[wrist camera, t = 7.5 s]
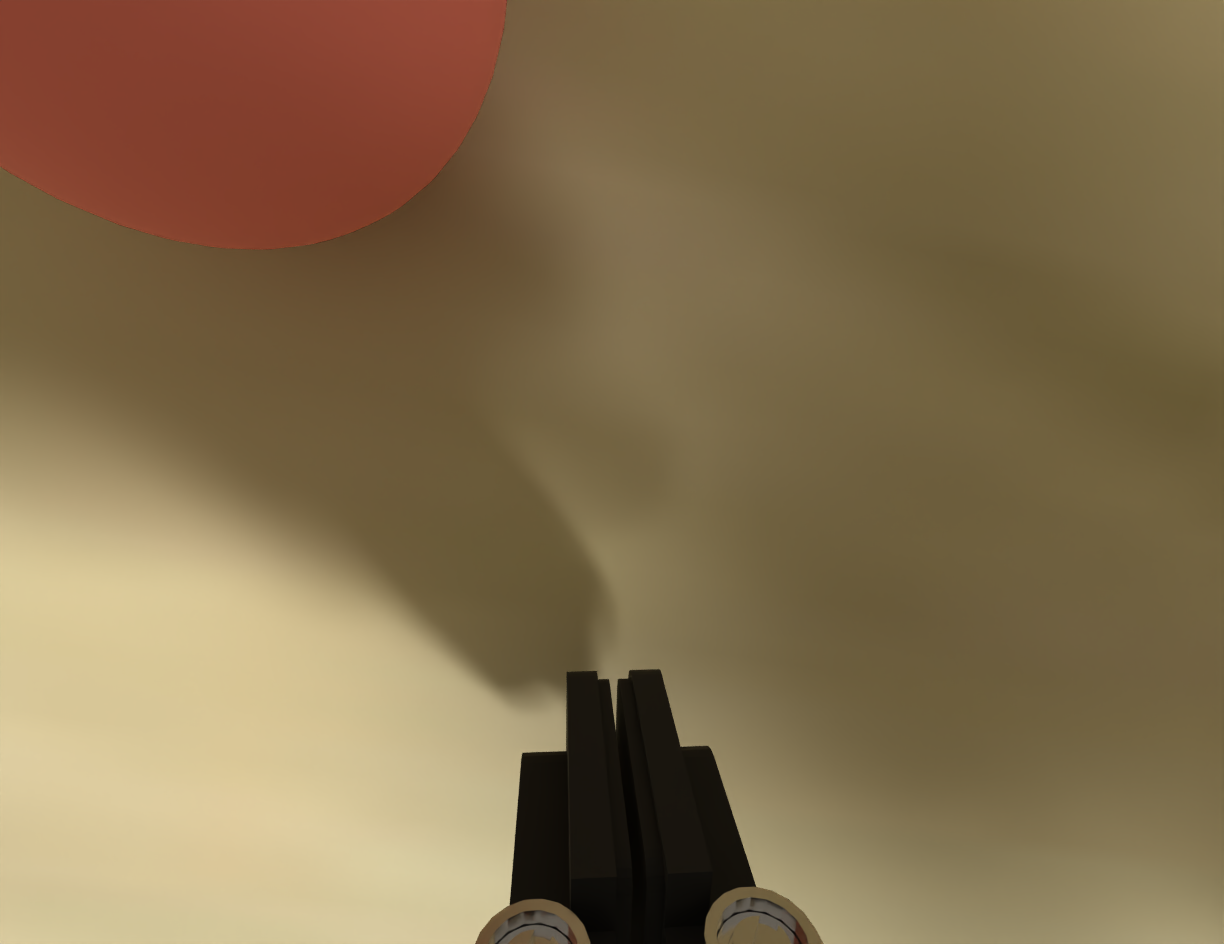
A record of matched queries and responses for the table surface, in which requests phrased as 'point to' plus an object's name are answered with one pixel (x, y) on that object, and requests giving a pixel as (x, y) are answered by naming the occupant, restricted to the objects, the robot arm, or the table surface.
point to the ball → (241, 109)
